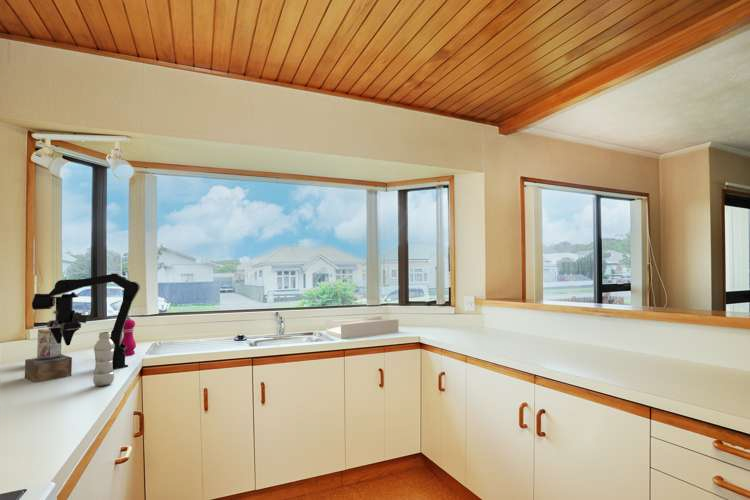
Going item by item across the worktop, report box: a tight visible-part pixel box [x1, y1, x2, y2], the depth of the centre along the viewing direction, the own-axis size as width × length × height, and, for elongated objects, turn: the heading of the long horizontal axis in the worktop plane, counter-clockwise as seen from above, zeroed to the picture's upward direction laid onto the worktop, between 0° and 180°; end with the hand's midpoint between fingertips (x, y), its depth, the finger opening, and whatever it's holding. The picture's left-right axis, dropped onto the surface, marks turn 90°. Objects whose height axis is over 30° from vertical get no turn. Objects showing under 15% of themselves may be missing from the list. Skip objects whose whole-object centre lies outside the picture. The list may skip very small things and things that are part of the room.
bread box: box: [325, 316, 399, 340], centre depth 265 cm, size 45×22×10 cm, turn 122°
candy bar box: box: [36, 327, 62, 358], centre depth 182 cm, size 11×5×16 cm, turn 65°
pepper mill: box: [122, 316, 137, 357], centre depth 201 cm, size 7×7×20 cm
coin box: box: [24, 353, 73, 384], centre depth 159 cm, size 12×12×8 cm
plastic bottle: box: [92, 331, 115, 387], centre depth 147 cm, size 6×7×20 cm
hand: (63, 344), depth 166 cm, fingers open, 9 cm apart
